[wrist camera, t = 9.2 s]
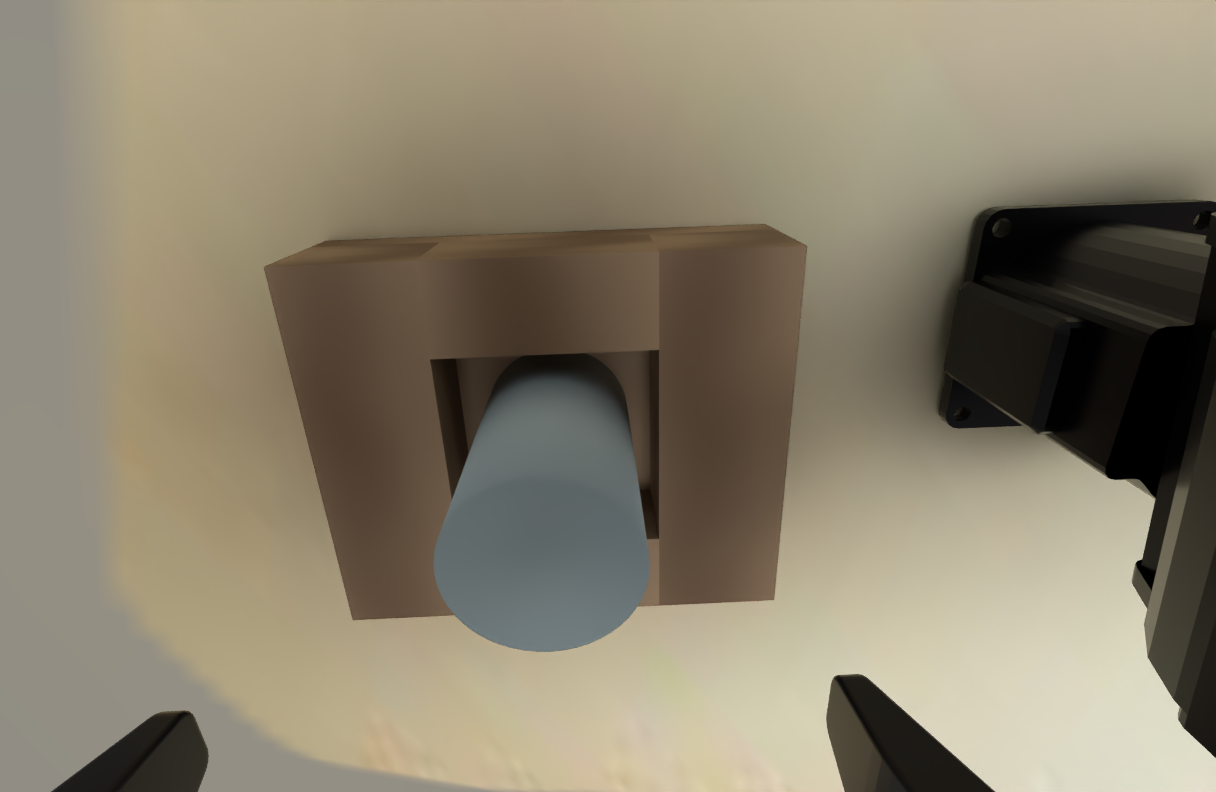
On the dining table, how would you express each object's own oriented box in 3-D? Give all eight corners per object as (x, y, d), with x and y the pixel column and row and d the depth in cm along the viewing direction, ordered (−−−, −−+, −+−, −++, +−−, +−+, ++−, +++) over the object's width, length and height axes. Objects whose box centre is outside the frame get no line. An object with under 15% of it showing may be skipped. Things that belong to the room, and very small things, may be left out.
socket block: (765, 224, 17) (807, 245, 14) (745, 528, 21) (774, 599, 18) (326, 241, 17) (263, 267, 14) (389, 544, 21) (352, 620, 18)
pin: (625, 344, 17) (649, 471, 11) (628, 469, 19) (650, 646, 12) (481, 350, 17) (417, 481, 11) (496, 475, 19) (448, 656, 12)
